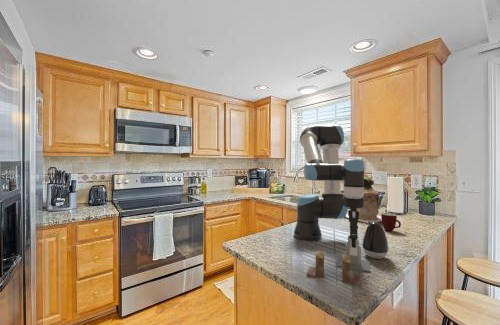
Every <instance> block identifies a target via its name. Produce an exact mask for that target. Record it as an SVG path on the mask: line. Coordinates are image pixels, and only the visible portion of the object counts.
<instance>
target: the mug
mask: <svg viewBox="0 0 500 325" xmlns="http://www.w3.org/2000/svg"><path fill="white" fill-rule="evenodd" d="M380 216H381V219H382V222H381V223H382V224H381V226H382V227H383V229H384V232H385V231H386V232H393V231H394V229H398V228H400V227H402V224H401V221H400V220H399V219H397V214H395V213H391V212H389V213H388V212H381V214H380ZM397 223H398V226H396V224H397Z"/></svg>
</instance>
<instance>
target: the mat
mask: <svg viewBox="0 0 500 325" xmlns="http://www.w3.org/2000/svg"><path fill="white" fill-rule="evenodd" d="M336 268H339V269H340V268H341V269H342V256H337V262H336ZM350 270H352V271H353V270H354V271H357V272H358V271H359V272H364V273H371V272H372V270H371V265H370V260H365V259H361V265H360V266H356V265H353V264H350Z"/></svg>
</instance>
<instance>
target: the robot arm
mask: <svg viewBox="0 0 500 325" xmlns="http://www.w3.org/2000/svg"><path fill="white" fill-rule="evenodd" d="M299 141H300V142H299V143H300V145H301V146H302V148H303V154H304V157H305V162H306V163H305V164H304V166H303V175H304V176H303V177H304V179H305V180H306V181H323V187H324V188H323V191H322V193H321V196H319V194H316V193H314V194H313V193H312V194H311V193H309V194H302V195H300V196H298V197H297V200H296V201H297V202H296V206H297V207H296V214H297V215H296V224H295V227H294V230H293V237H294V238H295V239H298V240H301V241H306V242H313V241H320V240H321V239H322V235H323V234H322V232H321V228H320V225H319V219H324V220H325V219H327V220H328V219H330V220H341V219H344V218H346V217H345V216H346V214H348V216H349V218H348V222H349V235H348V236H347V239H348V238H350V255H353V256H358V240H359V239H358V238H359V236H358V229H359V225H358V223H359V221H358V217H359V211H357V208H363V207H364V199H363V198H362V197H363V196H364V193H363V192H365V191H366V190H365V189H364V177H365V161H364V160H363V159H359V158H358V159H353V158H352V159H351V158H350V159H344V161H343V163H340V158H339V155H340V154H339V149H341V148H342V145H343V144H344V142H345V133H344V129H343V127H342V126H341V125H339V124H313V125H310V126H307V127H306V128H305V129H303V131H302V132H301V134H300V136H299ZM318 145H319V146H318ZM320 150H322V154H321V151H320ZM341 181H343V192H342V191H341ZM349 208H350V209H349Z"/></svg>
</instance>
